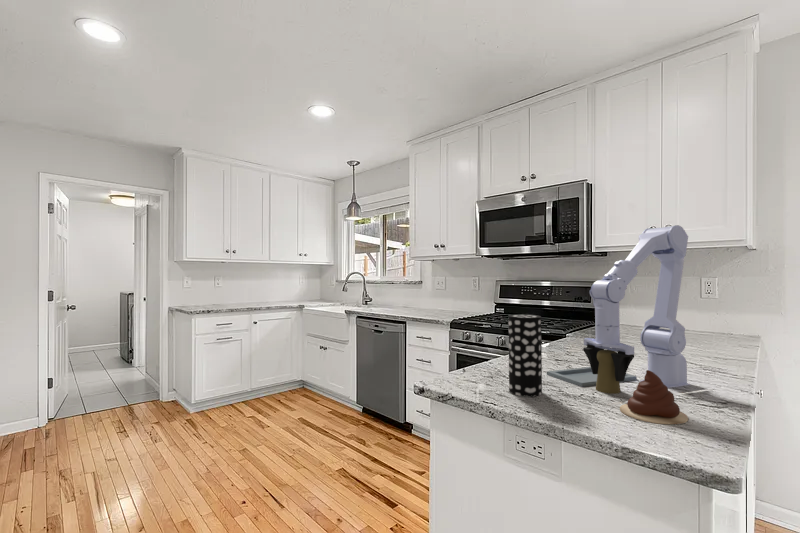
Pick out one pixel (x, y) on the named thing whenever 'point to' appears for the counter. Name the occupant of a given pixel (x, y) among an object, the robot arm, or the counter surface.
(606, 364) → the pepper shaker
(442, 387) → the counter surface
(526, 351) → the spotted tube
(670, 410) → the poop emoji
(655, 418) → the cork coaster
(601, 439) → the counter surface
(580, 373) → the tray
